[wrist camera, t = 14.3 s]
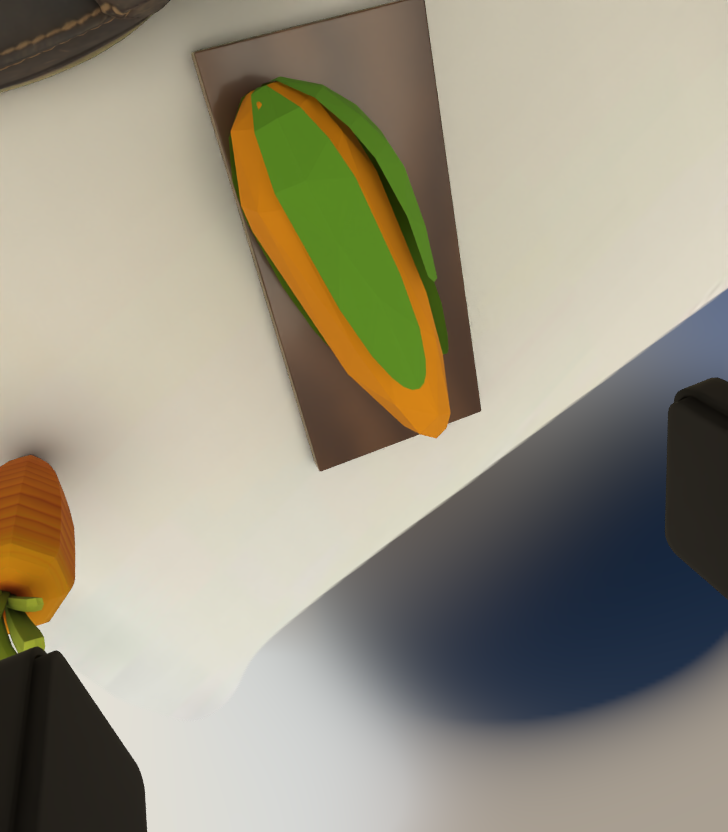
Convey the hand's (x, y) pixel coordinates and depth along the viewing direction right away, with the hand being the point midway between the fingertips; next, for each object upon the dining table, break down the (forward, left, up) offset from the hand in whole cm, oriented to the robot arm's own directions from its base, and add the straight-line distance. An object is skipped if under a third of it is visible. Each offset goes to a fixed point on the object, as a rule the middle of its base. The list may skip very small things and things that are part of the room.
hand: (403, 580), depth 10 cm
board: (-8, +5, -28) cm, 30 cm away
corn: (-7, +5, -27) cm, 28 cm away
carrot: (+12, +10, -28) cm, 32 cm away
